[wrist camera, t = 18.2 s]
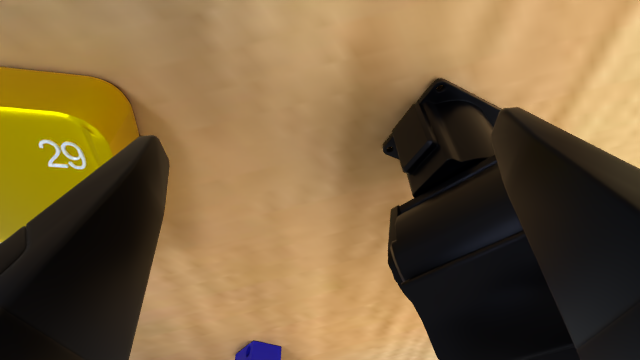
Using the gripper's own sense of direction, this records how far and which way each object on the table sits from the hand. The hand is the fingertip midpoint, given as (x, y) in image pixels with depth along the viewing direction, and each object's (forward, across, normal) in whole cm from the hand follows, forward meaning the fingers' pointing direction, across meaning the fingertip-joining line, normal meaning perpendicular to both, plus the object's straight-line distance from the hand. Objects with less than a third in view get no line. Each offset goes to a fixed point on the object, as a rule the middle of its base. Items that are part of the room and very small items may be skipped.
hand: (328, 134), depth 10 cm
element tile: (+13, +21, +11) cm, 27 cm away
